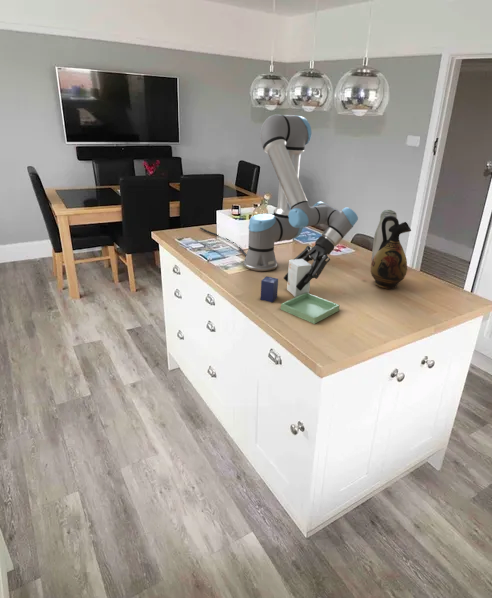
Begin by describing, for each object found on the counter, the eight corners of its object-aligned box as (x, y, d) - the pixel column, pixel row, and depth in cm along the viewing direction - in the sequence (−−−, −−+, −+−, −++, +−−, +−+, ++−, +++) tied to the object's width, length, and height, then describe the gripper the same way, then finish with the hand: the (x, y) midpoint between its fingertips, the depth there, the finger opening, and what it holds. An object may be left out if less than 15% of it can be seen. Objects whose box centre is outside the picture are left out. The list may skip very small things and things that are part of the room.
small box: (309, 295, 167) (312, 265, 161) (295, 297, 164) (297, 266, 158) (300, 287, 173) (302, 258, 168) (286, 289, 170) (288, 259, 165)
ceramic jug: (407, 283, 186) (420, 217, 174) (398, 294, 174) (411, 224, 161) (371, 274, 193) (381, 210, 181) (359, 285, 181) (370, 216, 168)
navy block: (260, 299, 160) (261, 280, 156) (265, 295, 164) (266, 276, 161) (272, 302, 158) (273, 283, 155) (277, 297, 163) (278, 278, 159)
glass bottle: (382, 262, 210) (391, 207, 198) (394, 269, 202) (405, 212, 190) (366, 264, 206) (374, 207, 194) (378, 271, 198) (388, 213, 186)
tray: (280, 309, 153) (280, 303, 152) (306, 297, 165) (306, 292, 164) (314, 324, 145) (315, 318, 144) (339, 310, 156) (339, 305, 155)
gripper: (349, 255, 161) (312, 299, 160) (317, 239, 177) (282, 280, 175) (340, 243, 156) (301, 289, 155) (308, 228, 172) (272, 270, 171)
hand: (291, 284), depth 165 cm, fingers closed on small box, 9 cm apart
